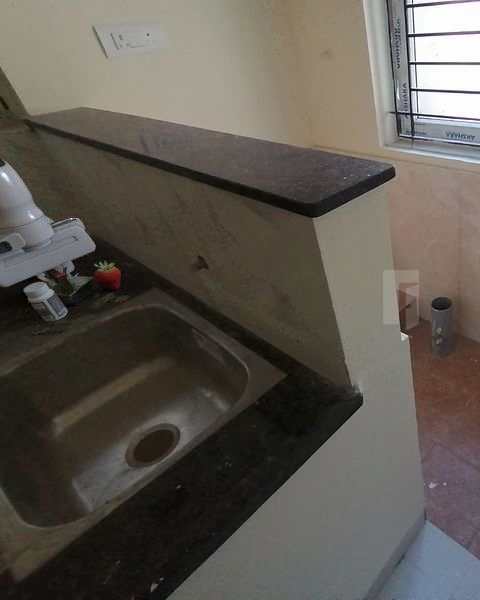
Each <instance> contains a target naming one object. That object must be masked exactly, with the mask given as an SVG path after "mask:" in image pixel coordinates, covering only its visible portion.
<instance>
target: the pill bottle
mask: <svg viewBox="0 0 480 600" xmlns="http://www.w3.org/2000/svg"><path fill="white" fill-rule="evenodd" d="M46 284H47V282H45V281H37V282H33V283H30V284H29V285H26V286H25V287H24V288H23V293H24V294H25V295H26V296H27V301H28V303H30V305H31V306H32V307H33V309H34V310H35V311H36V312H37V314H38V315H39V316H40V317H41V318H42V320H43V321H44V322H45V323H46V322H47V323H52V322H56V321H59V320H61V319H63V318H65V317H66V316H67V314H68V312H69V311H68V309H67V308H66V305H63V303H62V302H61V301H60V299H59V298H58V297H57V295H56V294H55V292H54V291H53V290H52V289H49V287H48V286H47V285H46Z"/></svg>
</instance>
